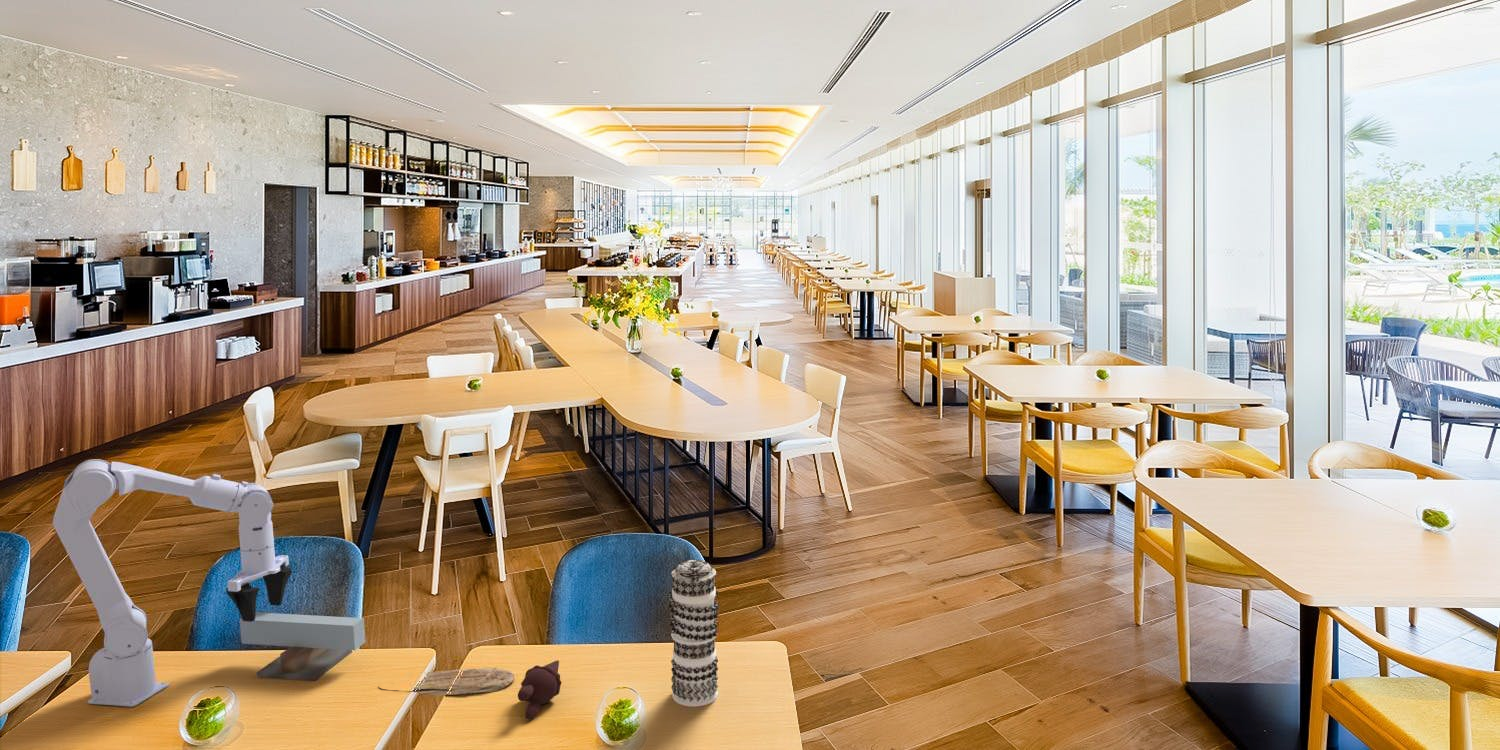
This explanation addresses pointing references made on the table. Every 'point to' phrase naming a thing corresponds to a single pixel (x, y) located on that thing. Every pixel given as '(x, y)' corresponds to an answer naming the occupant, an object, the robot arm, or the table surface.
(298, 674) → the fulcrum
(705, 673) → the white patterned cylinder
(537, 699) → the icecream
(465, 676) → the fish fossil
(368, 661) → the table surface
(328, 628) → the batten
